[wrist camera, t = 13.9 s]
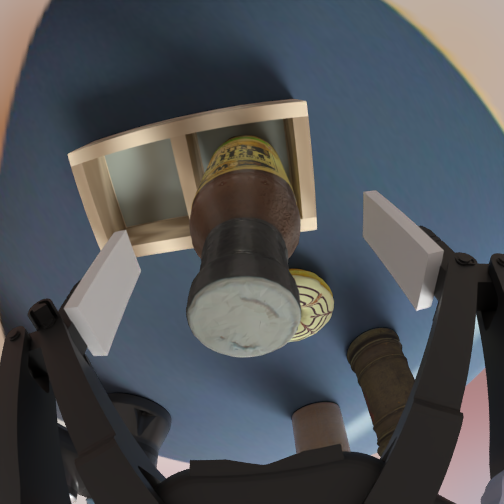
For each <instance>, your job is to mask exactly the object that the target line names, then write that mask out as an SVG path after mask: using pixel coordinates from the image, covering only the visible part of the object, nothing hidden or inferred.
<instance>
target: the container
mask: <svg viewBox="0 0 504 504" xmlns="http://www.w3.org/2000/svg"><path fill="white" fill-rule="evenodd" d="M347 360H348V362H349V364H350V365H351V369H352V371H353V372H355V373H356V376H357V378H358V383H359V385H360V386H361V388H362V391H363V394H364V397H365V400H366V404H367V407H368V410H369V414H370V416H371V419H372V423H373V426H374V427H373V430H374V431H375V432H376V435H377V438H378V439H377V441H378V442H377V445H378V446H379V447H378V450H377V452H378V454H379V456H380V457H381V456H382V454H383V452H384V450H385V449H386V447H387V445H388V443H389V441H390V439H391V437H392V435H393V433H394V431H395V429H396V426H397V424H398V422H399V419H400V417H401V415H402V412H403V410H404V408H405V405H406V403H407V400H408V398H409V395H410V393H411V390H412V387H413V385H414V382H415V379H414V377H413V375H412V373H411V371H410V368H409V366H408V362H407V359H406V357H405V356H404V354H403V352H402V344H401V343H400V340H399V337H398V335H397V334H396V333H395V332H394V331H393V330H391V329H388V328H376V329H372V330H369V331H367V332H365V333H363V334H361V335H360V336H358V337H357V338H356V339H355V340H354V341H353V342H352V343H351V345H350V346H349V348H348V351H347Z"/></svg>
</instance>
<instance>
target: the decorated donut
mask: <svg viewBox="0 0 504 504" xmlns="http://www.w3.org/2000/svg"><path fill="white" fill-rule="evenodd" d="M289 272H290V273H291V275H292V276H293V278H294V279H295V281H296V284H297V288H298V290H299V296H300V305H301V316H302V317H301V321H300V324H299V326H298V330H297V331H296V333H295V335H294V336H293V337H292V339H291V340H290V341H289V342H292V341H299V340H302V339H304V338H307V337H309V336H311V335H313V334H315V333H317V332H318V331H319V330H320V329H321V328H322V327H323V326H324V325H325V324H326V323H327V322H328V321H329V320H330V318H331V316H332V312H333V309H334V300H333V295H332V292H331V290H330V288H329V286H328V285H327V284H326V283H325V282H324V281H323V279H322V278H320V277H318V276H317V275H316V274H315V273H312V272H310V271H305V270H302V269H289Z"/></svg>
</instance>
